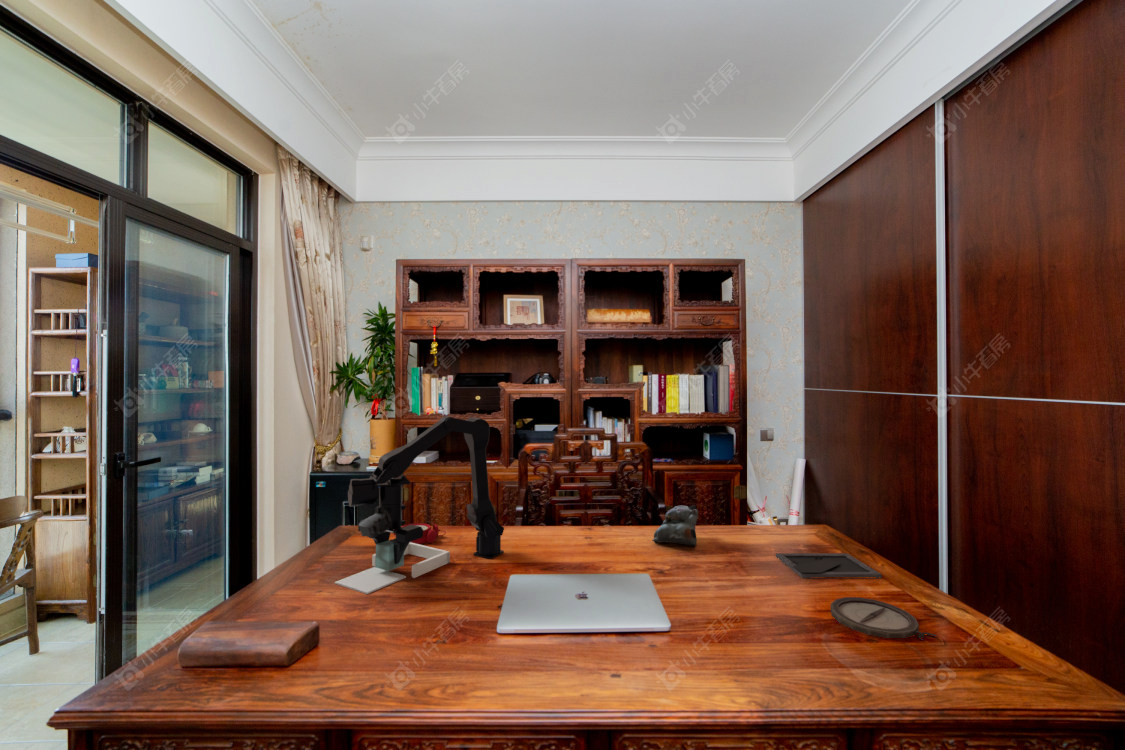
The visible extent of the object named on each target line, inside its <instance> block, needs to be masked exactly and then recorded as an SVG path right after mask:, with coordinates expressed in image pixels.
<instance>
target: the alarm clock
mask: <svg viewBox="0 0 1125 750" xmlns="http://www.w3.org/2000/svg"><path fill="white" fill-rule="evenodd" d="M408 525H416V526H420V527H422V529H423V537H422V538H419V539H416V540H414V541H411V543H415V544H420V545H423V544H425V543H428V544H433V543H435V542H436V540H437V538H438V537H442V536H445V535H446V533H447V531H445V530H443V529H442V530H441V529H439V526H438V524H435V523H433V524H432V527H431V525H430V524H428V523H425V522H424V523H422V522H421V523H420V522H419V523H417V522H416V523H408V524H405V525H401V527H405V526H408ZM439 532H444V533H443V534H439ZM393 536H396V534H394V533H393Z"/></svg>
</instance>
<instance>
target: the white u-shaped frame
mask: <svg viewBox="0 0 1125 750" xmlns="http://www.w3.org/2000/svg"><path fill="white" fill-rule="evenodd" d="M406 555H411V556H416V557H420V558H424V560H422V561H419V562H417V563H414V564H412V565H411V578H413V579H415V578H417V577H420V576H422V575H424V574H426V573H430V572H431V571H433V570H435V569H438V568H440V567H443V566H444V565H447V564H449V563H451V562H450V560H451V559H450V558H451V557H450V555H451V553H450V551H448V550H444V549H440V548H436V547H432V546H427V545H423V544H415V543H411V542H409V544H408V546H407V547H406V549H405V551H404V556H406ZM371 565H372V567H376V553H374V554H372V555H371Z"/></svg>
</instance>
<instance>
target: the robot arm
mask: <svg viewBox="0 0 1125 750" xmlns="http://www.w3.org/2000/svg"><path fill="white" fill-rule="evenodd" d="M490 431H491V427H490V423H489V422H488V421H486V419H483V418H479V417H469V418H467V419H462V418H457V417H456V418H454V417H452V416H450V415H449V416H447V415H445V416H442V417H441V418H440V419H439V420H438V421H437V422H435V423H434V424H433V425H431V426H430V427H428V428H427V429H426V430H424V431H423V432H422V433H420V434H419V435H417V436H416V437H415V438H413V439H412V440H410V441H409V442H408V443H406V444H404V445H403V446H400V447H396V448H395V449H392V450H391V451H390V450H389V451H388V452H386V453H384V454H383V455H381V456H380V458H378V462H377V463H378V464H377V467H375V469H374V471H373V472H372V474H371V475H370V476H369V478H360V479H359V478H352V479H350V481H349V486H348V490H347V501H348V506H349V507H351V508H352V507H360V506H368V505H369V506H370V505H374V504H375V502H377V500H379V503H378V504H379V505H378V506H375V508H374V514H372V515H369V516H368V517H367V518H364V519H361V520H360V521H359V522H358V524H357V525H358V526H357V528H358V532H360V533H361V536H362V537H367V538H369V539H372V540H373V542H374V544H375V545H376V544H379V543H382V542H385V541H388V540H390V542H391V543H392V544H393V545H394V561H395V564H398V563H399V562H400V560H401V558H402V556H403V554H404V551H405V549H406V547H407V546H408V544H409V542H411V541H414V540H416V539H419V538H422V537H423V529H422V527H420V526H416V525H408V524H407V525H408V526H405V525H406V520H404V519H403V510H406V505H405V504H403V486H404V485H410V484H411V481H410V480H409V479H408V478H407V477H406V475H404V474H403V473H405V471H406V470H408V469H409V467H410V466H411V465H412V463H413V462H414V461H415V460H416V458H418V457H419V456H420V455H421V454H423V453H424V452H425V451H427V450H428V449H429V448H430V447H433V445H435V444H436V443H437V442H439V441H440V440H441V439H443V438H444V437H445V436H447V435H448V434H449V433H451V432H456V433H461V434H463V437H464V440H465V443H466V444H467V447H468V449H469V456H470V457H469V459H470V471H471V475H470V476H471V484H472V485H471V487H472V488H471V489H472V500H471V502H470V503H471V504H469V503H468V504H466V510H467V516H466V518H467V519H468V520H469V522H470V523H471V524H472V525H473V526H474V528H475V530H476V531H477V532H476V539H475V540H476V541H475V542H476V543H475V544H476V545H475V550H476V551H475V552H473V556H477V557H481V558H485V559H493V558H495V557H498V556H499V555H502V554H504V553H505V551H504V550H502V549H501V547H502V546H501V545H502V544H501V543H502V541H501V538H502V537H501V536H503V534H504V530H505V527H503V525H501V524H500V523H499V522H498V521H497V516H496V512H495V508H494V505H493V503H492V501H491V499H490V498H491V497H490V491H489V476H488V475H489V474H488V462H487V460H488V459H487V447H488V444H489V441H490ZM402 526H405V527H402ZM391 534H393V535H394V534H396V535H395V538H393V539H390V538H391Z"/></svg>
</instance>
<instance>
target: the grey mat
mask: <svg viewBox="0 0 1125 750" xmlns="http://www.w3.org/2000/svg"><path fill="white" fill-rule="evenodd" d="M406 578H407V576H406V575H404V574H400V573H396V572H393V571H386V570H383V569H379V568H376V566H375V567H374V566H372V567H370V568H367V569H365V570H363V571H360V572H358V573H355V574H352V575H349V576H347V577H344V578H342V579H340V580H337V581H335V582H334V585H338V586H341V587H344V588H347V589H350V590H352V591H355V592H359V593H362V594H365V595H369V594H371V593H373V592H375V591H378V590H381V589H383V588H385V587H387V586H390V585H392V584H395V583H397V582H399V581H402V580H403V579H404V580H405V579H406Z"/></svg>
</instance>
